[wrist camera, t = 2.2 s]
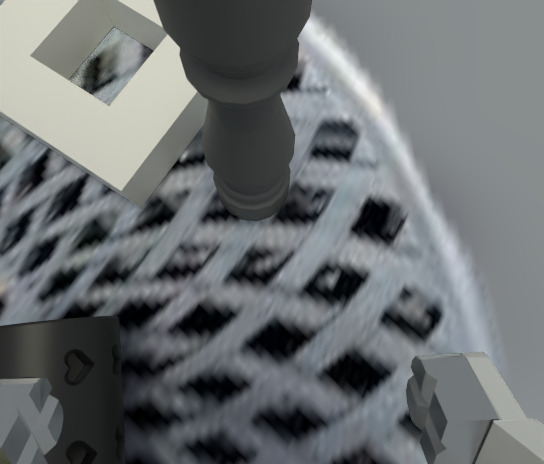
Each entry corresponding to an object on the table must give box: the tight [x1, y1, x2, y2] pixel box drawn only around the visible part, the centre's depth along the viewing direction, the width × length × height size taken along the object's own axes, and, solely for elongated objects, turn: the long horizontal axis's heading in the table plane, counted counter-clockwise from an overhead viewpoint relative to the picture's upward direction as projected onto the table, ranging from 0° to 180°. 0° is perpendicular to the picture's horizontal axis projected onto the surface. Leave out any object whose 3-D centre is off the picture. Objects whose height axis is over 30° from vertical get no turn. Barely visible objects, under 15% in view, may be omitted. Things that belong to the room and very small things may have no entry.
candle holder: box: [153, 0, 312, 221], centre depth 24 cm, size 6×6×25 cm
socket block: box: [0, 0, 208, 208], centre depth 36 cm, size 18×18×5 cm
